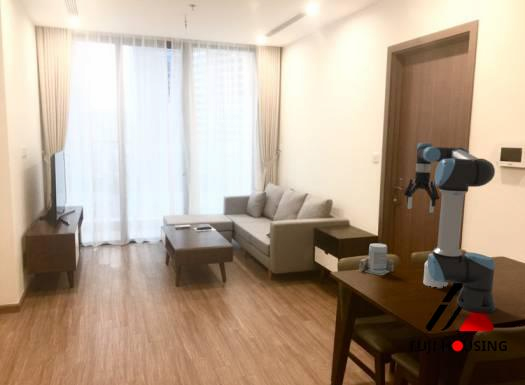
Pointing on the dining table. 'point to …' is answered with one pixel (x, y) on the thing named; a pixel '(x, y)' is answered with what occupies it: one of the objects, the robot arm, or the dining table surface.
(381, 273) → the mat
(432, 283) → the jar
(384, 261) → the supplement tub
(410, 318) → the dining table surface
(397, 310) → the dining table surface
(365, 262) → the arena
